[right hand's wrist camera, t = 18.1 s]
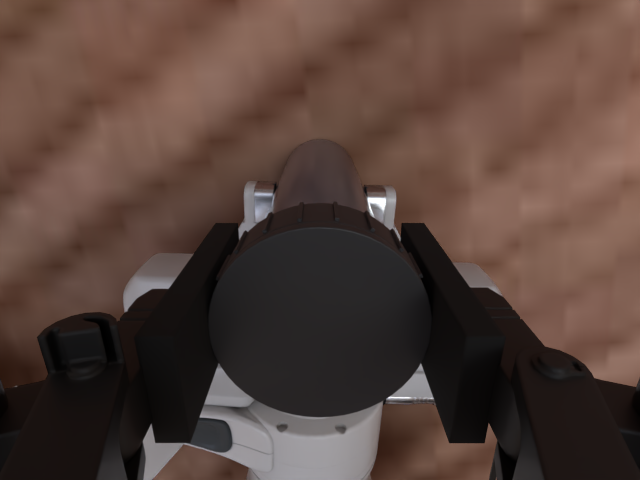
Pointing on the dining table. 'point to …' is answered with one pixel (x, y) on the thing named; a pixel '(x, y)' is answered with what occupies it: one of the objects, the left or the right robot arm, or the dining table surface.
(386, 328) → the lid
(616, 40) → the dining table surface
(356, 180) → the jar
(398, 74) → the dining table surface
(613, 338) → the dining table surface
